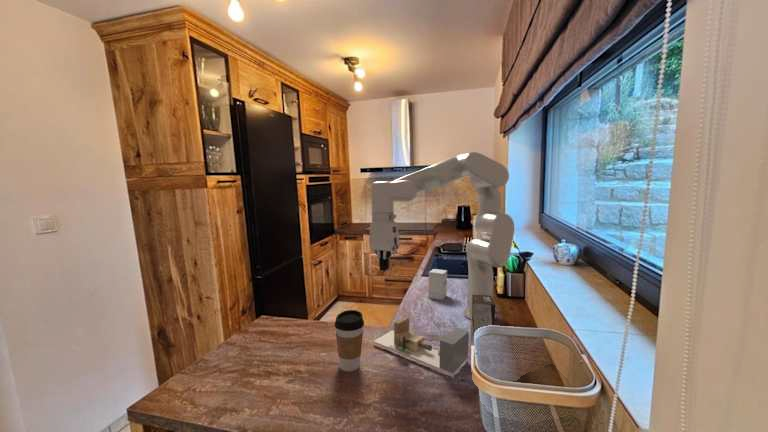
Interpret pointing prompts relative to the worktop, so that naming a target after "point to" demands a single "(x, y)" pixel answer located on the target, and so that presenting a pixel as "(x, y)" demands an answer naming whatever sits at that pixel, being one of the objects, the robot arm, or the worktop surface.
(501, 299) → the worktop surface
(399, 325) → the beige stepped block
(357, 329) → the coffee cup
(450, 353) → the beige vise
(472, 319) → the coffee box
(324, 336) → the worktop surface
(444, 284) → the supplement box
